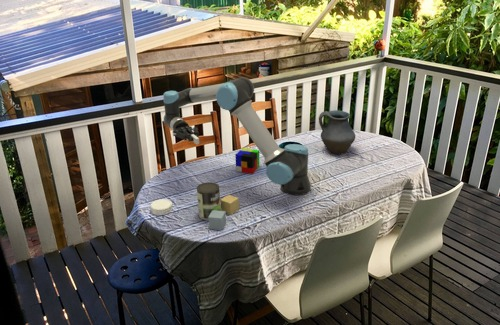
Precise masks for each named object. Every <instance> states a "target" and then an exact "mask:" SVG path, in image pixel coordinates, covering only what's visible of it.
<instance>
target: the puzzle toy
mask: <svg viewBox="0 0 500 325" xmlns="http://www.w3.org/2000/svg"><path fill="white" fill-rule="evenodd" d="M234 155H235V156H234V157H235V172H239V173H245V174H250V175H251V174H252V175H254V173H255V172H256V171H257V170H258V168H260V150H259V149H253V148H245V147H242V148H241V149H240V150H239V151H237V153H236V154H234Z"/></svg>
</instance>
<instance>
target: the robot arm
mask: <svg viewBox="0 0 500 325" xmlns="http://www.w3.org/2000/svg"><path fill="white" fill-rule="evenodd" d="M254 93H255V86H254V83H253V82H252V80H250V78H248V77H245V76H242V77H241V76H240V77H237V78H234V79H230V80H229V81H226V82H223V83H217V84H212V85H205V86H200V87H194V88H193V87H189V88H185V89H183V90H181V91H176V90H168V91H165V92H164V93H163V106H164V107H163V108H164V116H163V123H164V124H165V125H166V126H167V127H168V128H169V129H171V130H172V136H173V137H176V138H179V139H180V140H184V141H187V140H188V142H193V143H194V144H195V145H199V144H200V134H199V130H198V127H197V125H196V126H193V127H192V126H190V124H188V123H187V122H186V121H185V120H184V119H183V118H181V114H180V112H181V110H180V108H182V107H184V106H186V105H189V104H194V103H201V102H208V101H215V100H216V103H217V104H218V106H219V107H220V108H221V109H222V110H224V111H228V112H229V114H230V115H231V116H235V117H236V118H237V119H238V121H239V123H240V124H241V125H242V127H243V128H244V130H245V131H246V133H247V134H248V136H249V137H250V139H251V140H252V142H253V144H254V145H255V146H256V148H257V150H259V153H261V155H262V156H263V158H264V161H263V162H264V163H263V164H264V166H265V167H266V172H265V173H266V176H267V178H268V179H269V181H271V182H272V183H274V184H277V185H280V190H281V191H282V192H283V194H287V195H291V196H302V195H305V194H308V193H309V192H310V191H311V186H312V185H311V181H310V178H309V176H308V173H309V172H308V170H309V169H308V168H309V166H308V164H309V149H308V147H307V146H305V145H303V144H297V143H293V144H291V143H289V144H286V145H285V146H284V148H281V147H280V146H279V144H278V143H277V142H276V140H275V139H274V137H273V135H272V134H271V132H270V131H269V130H268V128H267V127H266V125H265V124H264V122H263V121H262V119H261V117H260V116H259V115H258V113H257V111H256V110H255V109H254V108H253V106H252V102H253V100H252V99H251V98H252V97H253V95H254Z"/></svg>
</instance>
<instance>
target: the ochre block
mask: <svg viewBox="0 0 500 325" xmlns="http://www.w3.org/2000/svg"><path fill="white" fill-rule="evenodd" d="M239 200H240V198H239V197H236V196H233V195H231V194H227V195H226V196H224V197H222V198H220V208H221V211H226V214H229V215H231V216H232V215H233V214H234V213H236V212H237V211H239V210H240V201H239Z"/></svg>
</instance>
